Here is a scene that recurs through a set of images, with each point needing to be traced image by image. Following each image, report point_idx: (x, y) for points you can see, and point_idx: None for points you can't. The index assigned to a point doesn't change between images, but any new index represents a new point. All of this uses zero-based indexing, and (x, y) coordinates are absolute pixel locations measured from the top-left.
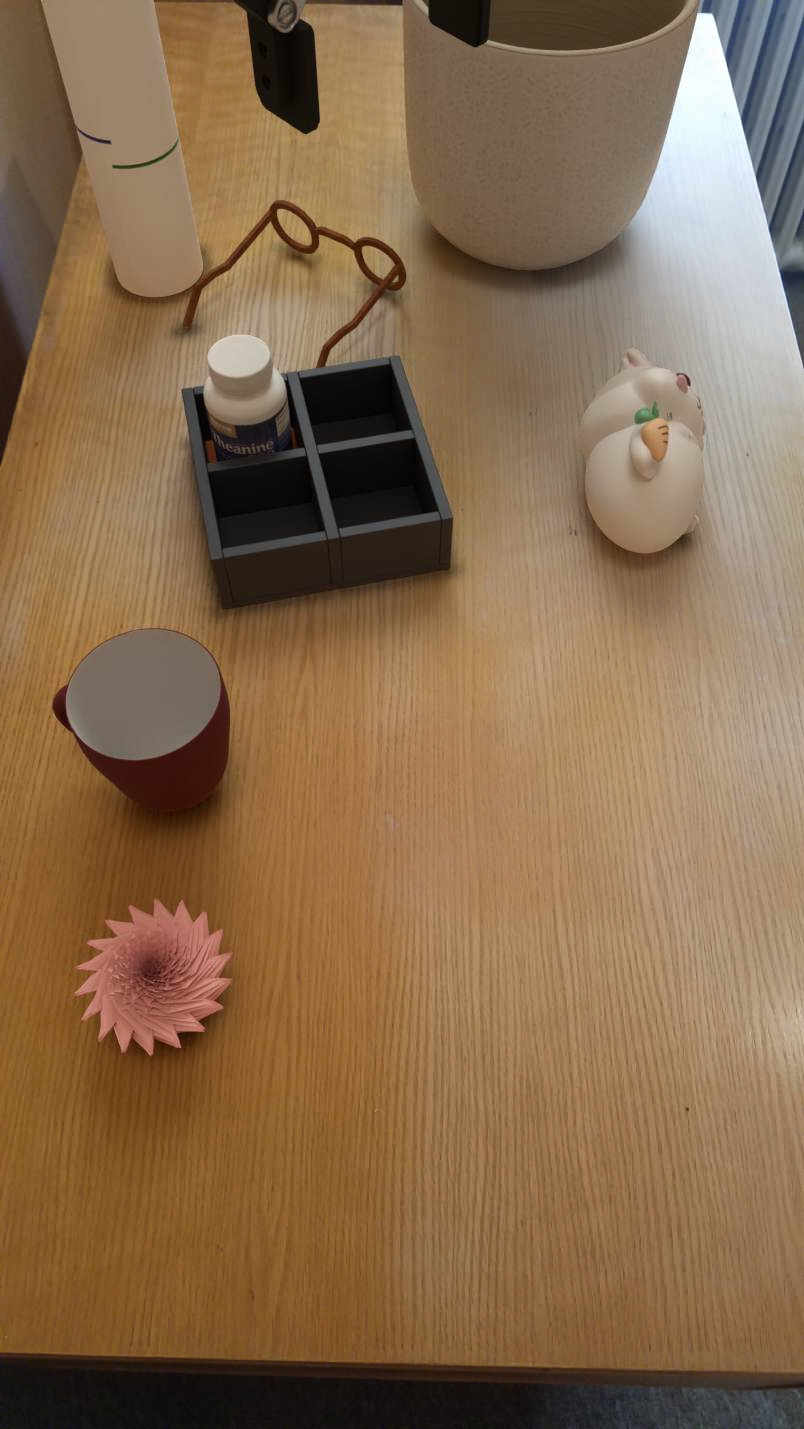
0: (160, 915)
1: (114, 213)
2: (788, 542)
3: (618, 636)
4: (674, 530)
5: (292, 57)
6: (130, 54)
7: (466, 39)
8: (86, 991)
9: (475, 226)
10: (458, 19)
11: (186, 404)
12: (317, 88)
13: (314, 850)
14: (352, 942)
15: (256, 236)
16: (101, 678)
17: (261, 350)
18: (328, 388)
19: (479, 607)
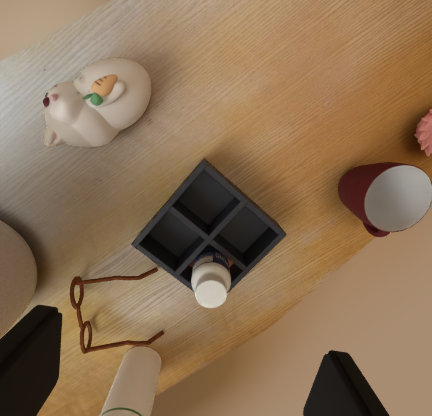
0: (427, 143)
1: (152, 397)
2: (82, 19)
3: (189, 68)
4: (133, 61)
5: None
6: None
7: (59, 325)
8: None
9: (26, 268)
10: (46, 355)
11: None
12: (350, 392)
13: (351, 121)
14: (378, 83)
15: (104, 345)
16: (379, 224)
17: (201, 288)
18: (166, 259)
19: (214, 134)
